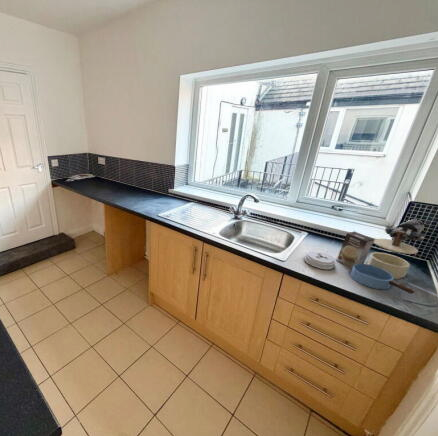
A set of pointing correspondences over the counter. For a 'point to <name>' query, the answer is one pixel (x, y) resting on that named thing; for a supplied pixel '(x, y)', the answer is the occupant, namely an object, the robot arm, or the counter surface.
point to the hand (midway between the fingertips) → (397, 236)
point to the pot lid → (396, 244)
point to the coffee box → (354, 249)
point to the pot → (389, 264)
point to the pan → (375, 277)
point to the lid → (320, 259)
